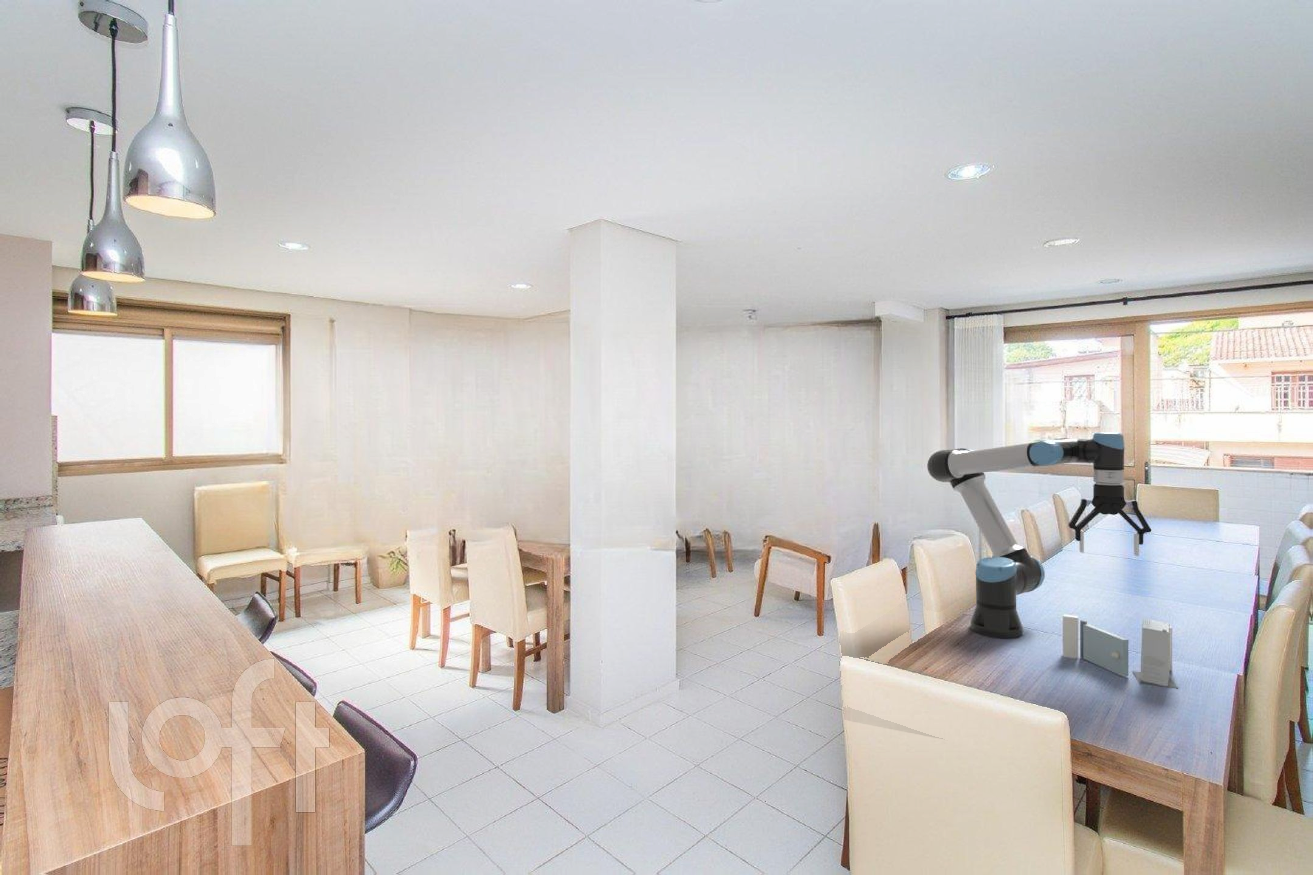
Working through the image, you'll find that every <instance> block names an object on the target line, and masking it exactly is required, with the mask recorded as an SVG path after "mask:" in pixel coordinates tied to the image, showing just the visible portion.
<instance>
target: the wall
mask: <svg viewBox="0 0 1313 875" xmlns="http://www.w3.org/2000/svg"><path fill="white" fill-rule="evenodd" d="M1062 655H1063V658H1071V659H1079V617H1078V615H1071V614H1062ZM1170 671H1171V672H1172V671H1173V627H1172V626H1171V625H1170V667H1169V672H1170Z"/></svg>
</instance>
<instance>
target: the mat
mask: <svg viewBox="0 0 1313 875" xmlns="http://www.w3.org/2000/svg"><path fill="white" fill-rule="evenodd" d="M1140 672H1141V671H1136V670H1133V671H1132V674H1133V675H1134V677H1135V678H1136V681H1138V683H1139V684H1142V685H1150V686H1157V687H1165V688H1172V689H1179V687H1178V686H1177V684H1176V683H1175V681H1173V679H1172V678H1171V676H1170V675H1169V682H1168V686H1163V685H1158V684H1154V683H1149V682H1144V681H1141V680H1140Z"/></svg>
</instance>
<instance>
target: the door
mask: <svg viewBox="0 0 1313 875" xmlns="http://www.w3.org/2000/svg"><path fill="white" fill-rule="evenodd" d="M1079 624H1080V625H1079V627H1080V628H1079V630H1080V634H1079V636H1080V638H1079V643H1080V644H1079V645H1080V646H1079V647H1080V650H1079V654H1080V655H1079V657H1080V658H1082V659H1084V660H1086V661H1088V662H1090V663H1092V664H1095V665H1096V666H1099V667H1101V668H1102V669H1106V670H1108V671H1110V672H1112V673H1114V674H1116V675H1119V676H1121V677H1123V678H1124V677H1129V639H1128V638H1126V637H1122V636H1120V635H1118V634H1115V633H1112V632H1109V631H1107V630H1104V629H1102V628H1099V627H1097V626H1094V625H1093V624H1089V623H1088V621H1087V620H1080V621H1079Z"/></svg>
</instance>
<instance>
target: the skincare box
mask: <svg viewBox="0 0 1313 875" xmlns="http://www.w3.org/2000/svg"><path fill="white" fill-rule="evenodd" d="M1170 626H1171V624H1170V623H1168V622H1164V621H1157V620H1152V619H1148V618H1143V619H1142V624H1141V646H1140V647H1141V651H1140V652H1141V654H1140V671H1139V672H1140V680H1141V681H1144V682H1149V683H1154V684H1158V685H1163V686H1168V682H1169V676H1170V670H1169V667H1170ZM1163 686H1162V687H1163Z"/></svg>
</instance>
